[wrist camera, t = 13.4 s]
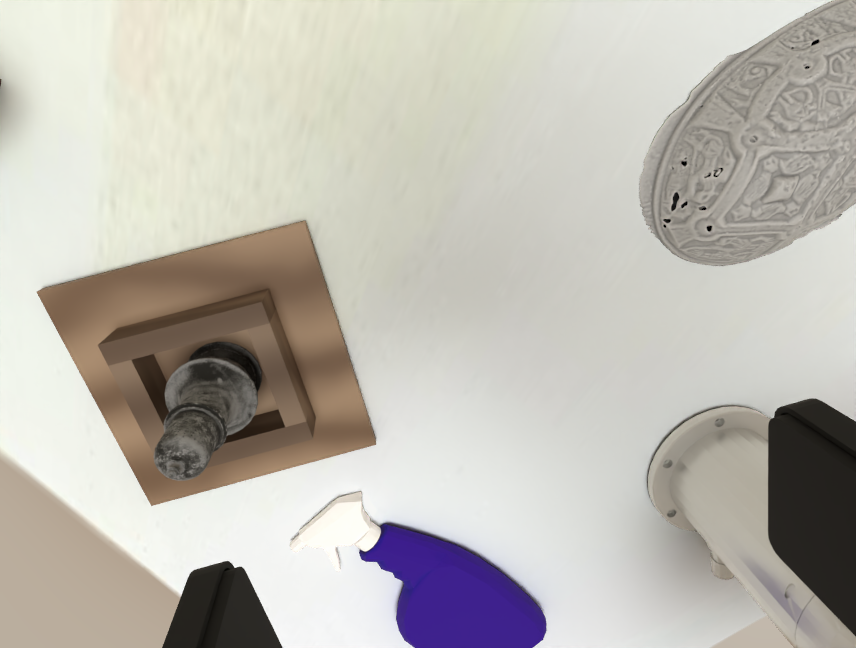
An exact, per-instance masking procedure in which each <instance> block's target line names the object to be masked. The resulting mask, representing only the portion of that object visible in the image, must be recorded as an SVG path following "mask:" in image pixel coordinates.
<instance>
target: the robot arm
mask: <svg viewBox="0 0 856 648" xmlns="http://www.w3.org/2000/svg"><path fill="white" fill-rule="evenodd" d="M648 490H649V495H650V498H651V500H652V502H653V504H654V506H655V508H656V509H657V510H658V511H659V513H660V514H661V515H662V517H664V518H665V519H666V520H667V521H668V522H669V523H671V524H673V525H675V526H676V527H678V528H681V529H685V530H688V531H698V533H699V534H700V535H701V536H702V537H703V539H704V540H705V541H706V543H707V546H708V548H709V549H710V550H711V551H712V552H711V569H712V572H713V574H714V575H715V576H717V577H718V578H720V579H725V580H726V579H731V578H733V577H734V576H735V577H736V578H737V580H738V581H739V582H740V583H741V584H742V586H743V587H744V588H745V589H746V591H747V592H748V593H749V594H750V595H751V597H752V598H753V599H754V600H755V601H756V603H757V604H758V605H759V606H760V607H761V609H762V610H763V611H764V612H765V613H766V615H767V616H768V617H769V618H770V619H771V621H772V622H773V623H774V624H775V625H776V626H777V628H778V629H779V630H780V632H781V633H782V634H783V635H784V636H785V637H786V639H787V640H788V641H789V642H790V644H791V645H792V646H793V647H794V648H856V422H855V421H854V420H852V419H850V418H849V417H847V416H845V415H844V414H842V413H840V412H839V411H837V410H835V409H834V408H832V407H830V406H829V405H827V404H825V403H824V402H822V401H820V400H817V399H807V400H804V401H800V402H796V403H793V404H789V405H786V406H782V407H780V408H778V409H777V410H776V412H775V416H774V418H772V419H769V418H768V417H766V416H765V415H763V414H762V413H760V412H758V411H755V410H753V409H750V408H745V407H738V406H732V407H721V408H717V409H712V410H709V411H706V412H704V413H701V414H699V415H696V416H695V417H693V418H691V419H690V420H688V421H686V422H684V423H683V424H682V425H681V426H679V427H678V428H677V429H676V430H674V431H673V432H672V433H671V434H670V435H669V436H668V438H667V439H666V440H665V441H664V442H663V443H662V445H661V446H660V448H659V449H658V451H657V452H656V454H655V456H654V459H653V461H652V463H651V466H650V470H649V475H648ZM162 648H282V646H281V644H280V642H279V639H278V637H277V635H276V633H275V631H274V629H273V627H272V625H271V623H270V621H269V619H268V617H267V615H266V613H265V611H264V609H263V606H262V604H261V602H260V600H259V598H258V596H257V594H256V592H255V590H254V588H253V586H252V584H251V582H250V580H249V578H248V576H247V573H246V572H245V570H244V569H243V568H242V567H237V568H234V566H233V565H232V564H231V563H230V562H229V561H225V562H221V563H218V564H214V565H210V566H207V567H203V568H200V569H196V570H194V571H192V572H191V573H190V575H189V577H188V580H187V582H186V585H185V588H184V590H183V593H182V596H181V598H180V601H179V604H178V607H177V609H176V612H175V615H174V617H173V620H172V623H171V626H170V628H169V631H168V634H167V636H166V639H165V642H164V644H163V647H162Z"/></svg>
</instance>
